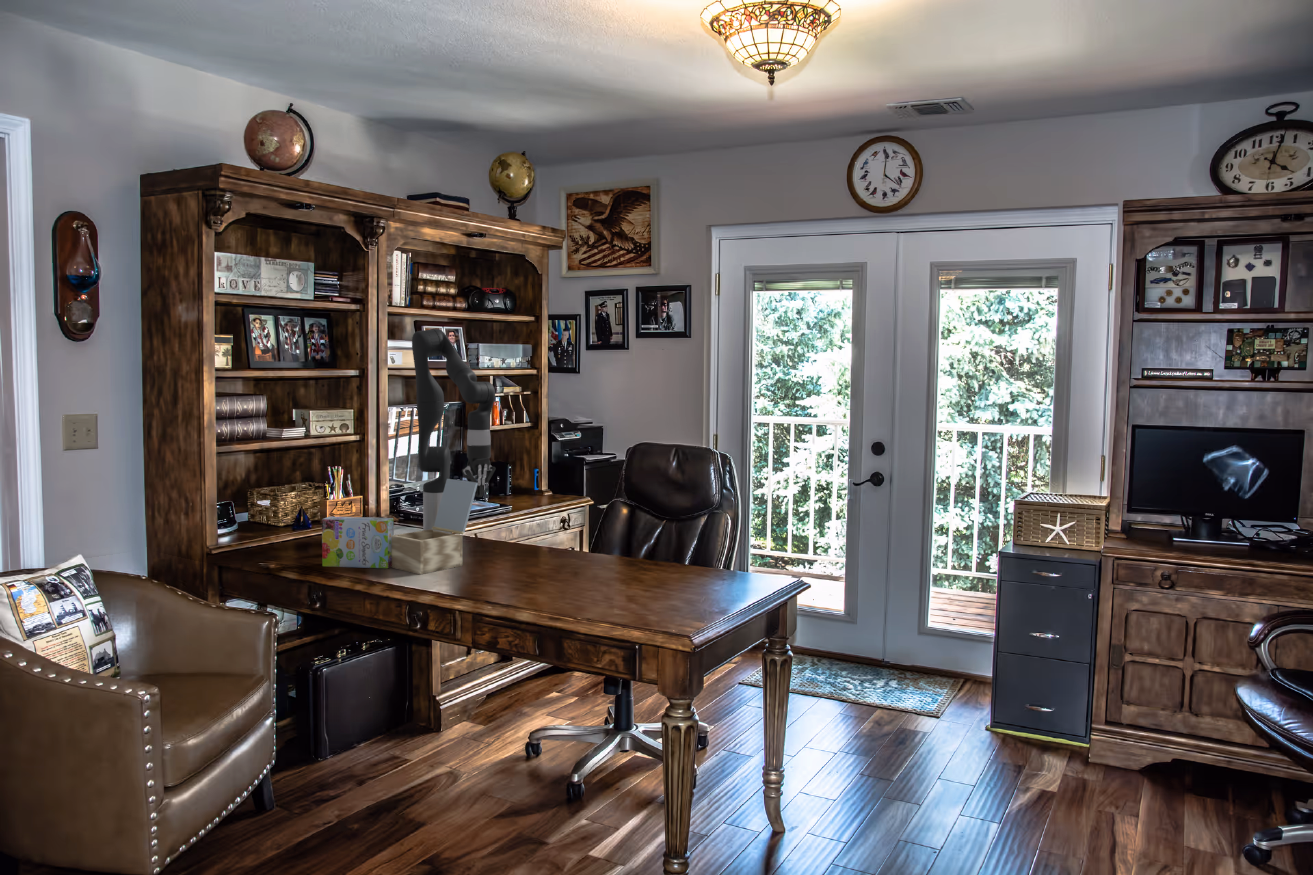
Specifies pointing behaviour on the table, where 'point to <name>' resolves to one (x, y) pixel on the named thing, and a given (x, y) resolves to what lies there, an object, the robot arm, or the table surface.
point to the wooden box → (426, 551)
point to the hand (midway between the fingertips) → (478, 496)
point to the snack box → (357, 542)
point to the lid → (455, 506)
